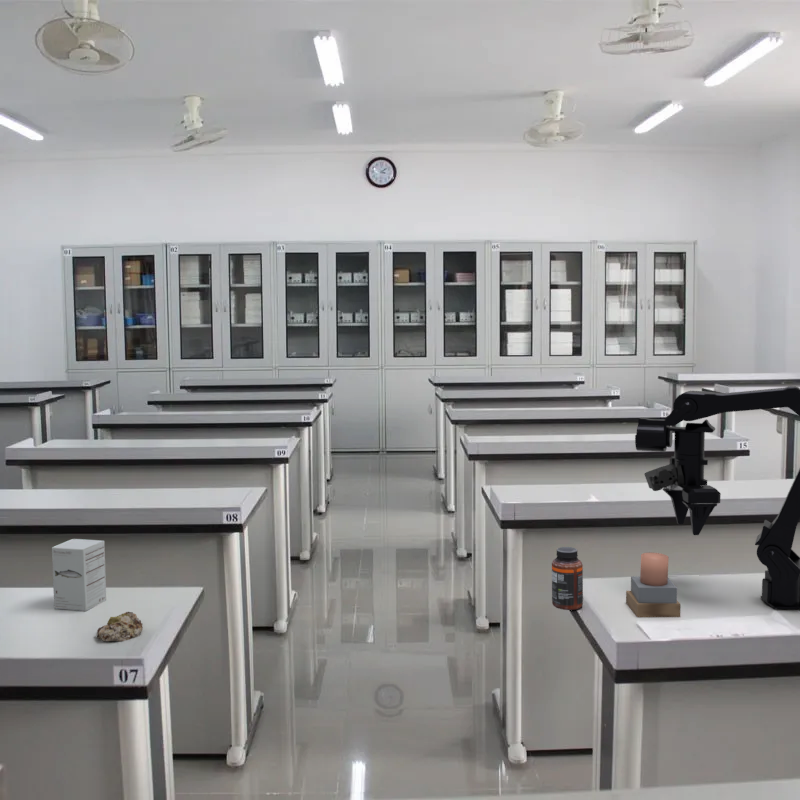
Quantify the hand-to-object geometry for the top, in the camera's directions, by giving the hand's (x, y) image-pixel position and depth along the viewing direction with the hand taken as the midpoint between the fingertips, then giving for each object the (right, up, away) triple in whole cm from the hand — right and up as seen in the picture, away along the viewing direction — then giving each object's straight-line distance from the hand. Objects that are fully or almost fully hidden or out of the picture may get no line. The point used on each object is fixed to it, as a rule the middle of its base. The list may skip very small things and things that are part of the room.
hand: (687, 529), depth 163 cm
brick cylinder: (-10, -8, -10) cm, 16 cm away
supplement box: (-123, -15, -2) cm, 124 cm away
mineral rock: (-109, -17, -17) cm, 112 cm away
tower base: (-10, -15, -9) cm, 20 cm away
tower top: (-10, -12, -9) cm, 18 cm away
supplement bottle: (-26, -14, -6) cm, 30 cm away
